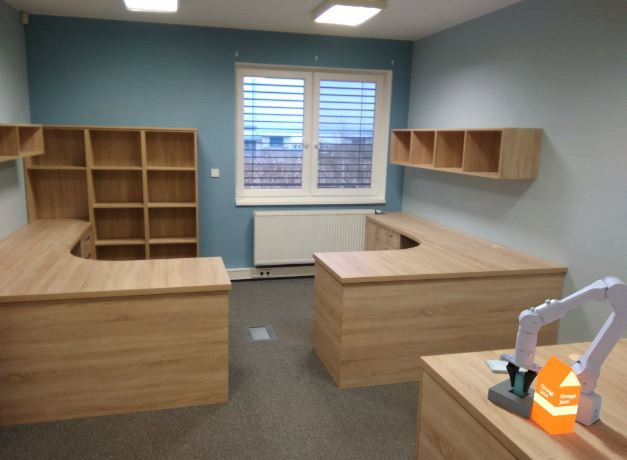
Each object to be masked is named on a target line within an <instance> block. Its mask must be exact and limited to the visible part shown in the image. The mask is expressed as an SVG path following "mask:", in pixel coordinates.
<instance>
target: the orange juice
mask: <svg viewBox="0 0 627 460" xmlns="http://www.w3.org/2000/svg"><path fill="white" fill-rule="evenodd" d="M569 366H570V365H567V364H566V363H564V362H563V361H562V360H560V359H558V358H557V357H555V356H554V355H551V356H550V358H549V359H548V360H547V361H546V363H545V364H544V365H543V366H542V367H543V368H542V369H541V371H540V372H539V373H538V375H537V376H536V383H535V389H534V390H535V394H534V402H533V409H532V416H531V418H530V419H532V420H533V421H534V422H535V423H536V424H537V425H539V426H540V427H541V428H542V429H544V430H545V431H546V432H547V433H548V434H549V435H550V436H551V435H562V434H569V433H574V429H575V422H576V420H575V418H576V413H577V407H578V400H579V394H580V388H581V385H580V383H579V381H578V379H577V377H576V375H575V373H574V371H573V369H572V368H571V367H569Z"/></svg>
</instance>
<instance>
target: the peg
mask: <svg viewBox="0 0 627 460" xmlns="http://www.w3.org/2000/svg"><path fill="white" fill-rule="evenodd" d="M523 388H524V372H520V371H518V372H516V375H515V382H514V389H513V394H514V395H516V396H519V397H521V398H524V397H525V393H524V392H523Z"/></svg>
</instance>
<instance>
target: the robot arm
mask: <svg viewBox="0 0 627 460" xmlns="http://www.w3.org/2000/svg"><path fill="white" fill-rule="evenodd" d="M606 299H607V300H606ZM593 301H595V302H601V303H607V301H608V303H609V305H610V307H611V309H612V311H611V314H610V315H609V317H608V318H607V319H606V321H605V322H604V324H603V326H602V327H601V329H600V330H599V332H598V333H597V335H596V336H595V338H594V339H593V341H592V343H590V345H589V347H588V348H587V350H586V351H585V353H584V354H582V355H579V357H578V358H577V359H576V360H575V361H573V362H571V363H570V364H569V365H568V366H569V367H571V368H572V369H573V371H574V373H575V375H576V377H577V379H578V381H579V383H580V385H581V388H580V394H579V400H578V407H577V413H576V418H575V422H579V423H580V424H582V425H585V426H587V427H589V426H591V425H593V423H595V422H596V421H598V420H599V419H600V418H601V417H600V413H601V408H602V402H603V396H601V395H600V394H598V393H597V392H596V391H594V390H595V389H596V388H597V380H598V378H599V377H600V374H601V370H602V369H601V368H602V365H603V364H604V362H605V361H606V359H608V357H609V355H610V354H611V352H612V351H613V349H614V348H615V347H616V345H617V343H618V341H620V338H621V337H622V336H623V335H624V333H625V332H626V330H627V284H626V283H625V282H624V281H623V280H622V279H621V278H620V277H619V276H616V275H608V276H606V277H604V278H603V279H602V278H601V279H598V280H595V281H594V282H592V283H591V284H589V285H588V286H585V287H583V288H581V289H579V290H578V291H576V292H573V293H572V294H571V295H568V296H567V297H564V298H562V299H560V300H559V299H554V298H553V299H551V300H550V299H549V298H548V299H546V300H544V303H542V304H540V305H538V306H535V307H534V306H532V307H530V309H525V310H522V312H520V314H519V315H518V317H517V318H518V322H519V326H518V327H517V328H518V329H517V331H518V332H517V334H516V340H515V351H514V355H512V354H507V353H506V352H502V353H500V354H499V355H500V356H499V360H500V361H506V362H508V365H506V369H507V371H508V373H507V374H508V376H509V379H510V382H511V387H512V388H513V387H514V382H515V375H516V372H518V371H519V369H520V367H521V368H524V369H525V370H526V371H527V372H525V373H524V388H523V392H524V393H526V392H528V390H529V388H531V385H532V383H533V382H534V380H535V379H536V378H537V376H538V373H539V372H540V371H541V369H542V368H543V367H544V366H541V365H539V364H538V363H536V362H535V356H536V350H537V344H538V343H537V342H538V332H539V331H540V330H541V328H542V326H546V325H548V324H550V323H552V322H555V321H556V320H559V319H561V318H563V317H565V315H566V312H567V311H569V310H572V309H574V308H578V307H580V306H582V305H585V304H587V303H589V302H593Z"/></svg>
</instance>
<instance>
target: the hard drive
mask: <svg viewBox="0 0 627 460" xmlns="http://www.w3.org/2000/svg"><path fill="white" fill-rule="evenodd" d="M484 363H485V365H486V366H487V367H488V369H489V370H490V371H491V373H497V374H498V373H502V374H509V373H508V371H507V369H506V365H508V362H506V361H501V360H500V359H499V360H498V359H497V360H495V359H485V360H484ZM519 371H520V372H524V373H525V372H527V371H528V370H527V369H524V368H521V367H520V369H519Z"/></svg>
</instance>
